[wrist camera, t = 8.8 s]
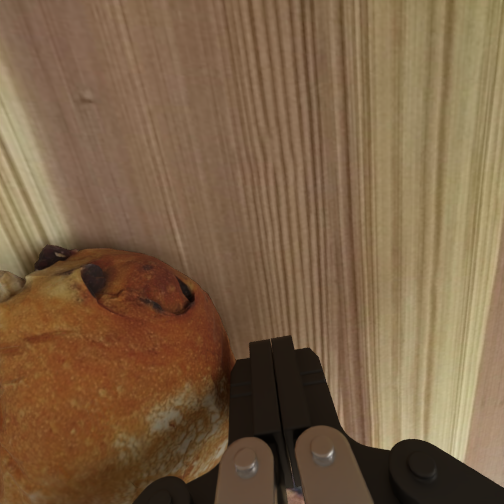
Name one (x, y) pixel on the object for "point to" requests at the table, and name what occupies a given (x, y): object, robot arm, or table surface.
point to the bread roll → (107, 378)
